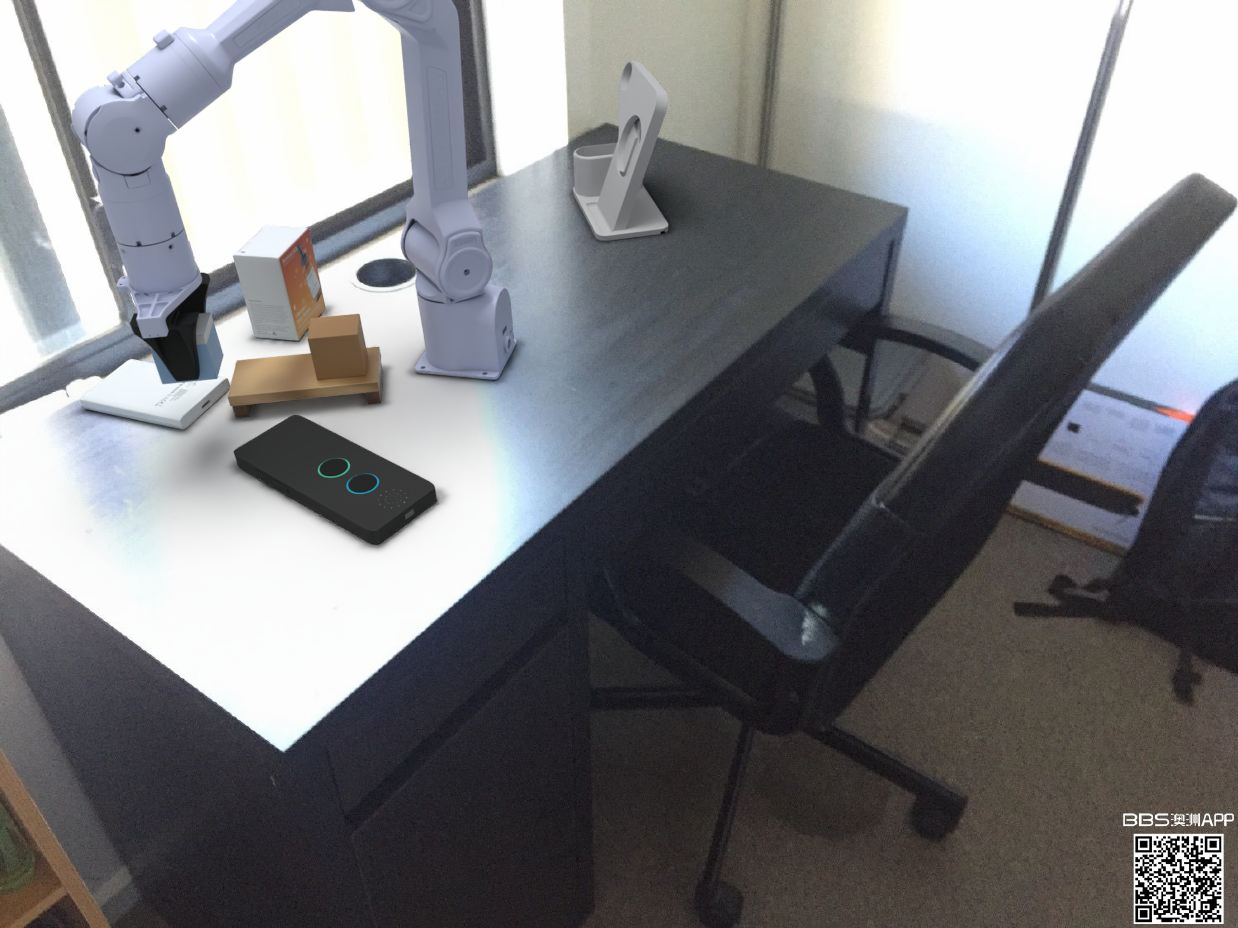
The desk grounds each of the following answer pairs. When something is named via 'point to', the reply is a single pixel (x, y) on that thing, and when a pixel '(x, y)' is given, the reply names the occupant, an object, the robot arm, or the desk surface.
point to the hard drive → (153, 396)
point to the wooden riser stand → (297, 381)
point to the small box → (280, 282)
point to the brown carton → (337, 346)
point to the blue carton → (199, 352)
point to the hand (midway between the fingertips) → (192, 364)
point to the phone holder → (624, 163)
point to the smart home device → (336, 478)
